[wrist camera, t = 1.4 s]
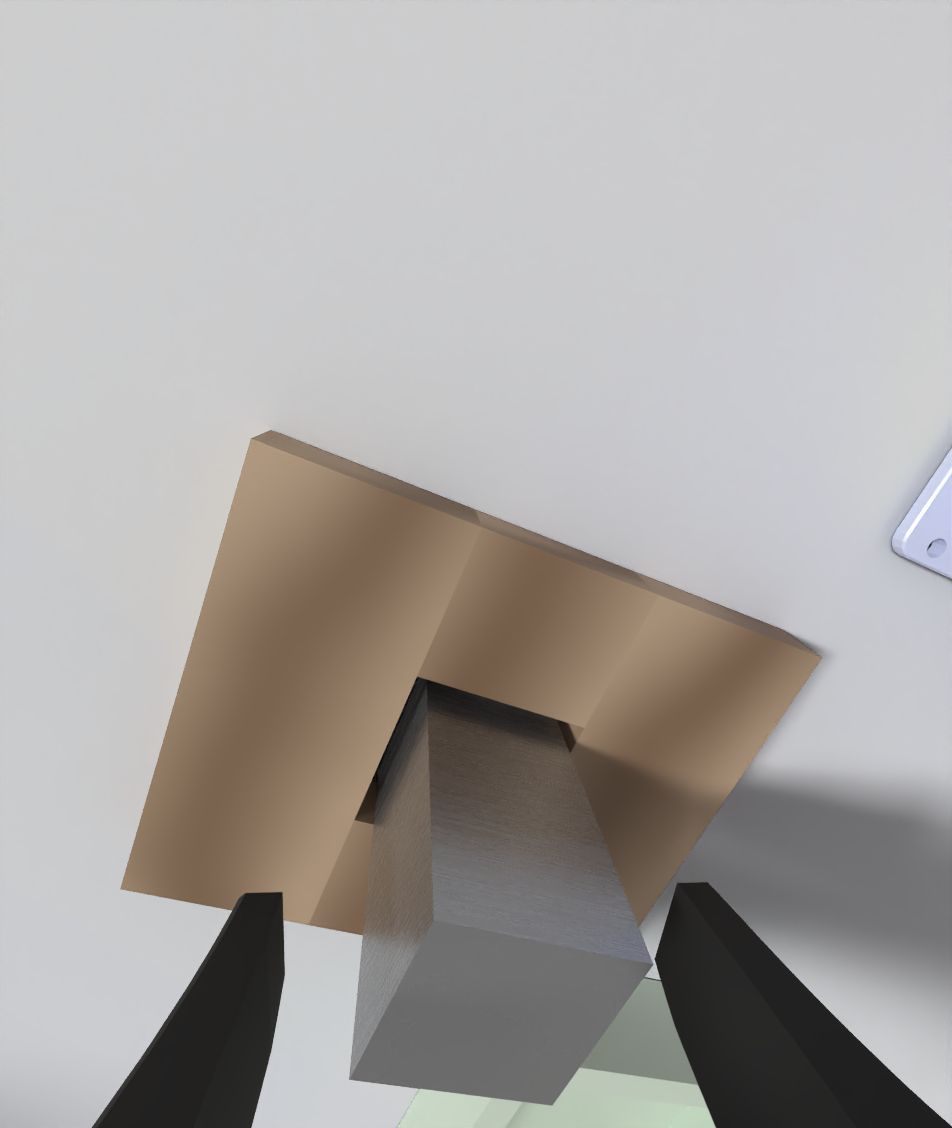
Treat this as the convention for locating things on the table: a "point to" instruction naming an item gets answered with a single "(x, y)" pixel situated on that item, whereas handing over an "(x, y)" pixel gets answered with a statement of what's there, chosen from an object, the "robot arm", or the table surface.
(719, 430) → the table surface
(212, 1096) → the robot arm
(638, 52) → the table surface
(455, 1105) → the tray
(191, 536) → the table surface
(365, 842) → the tan flat square frame
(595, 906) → the pin
